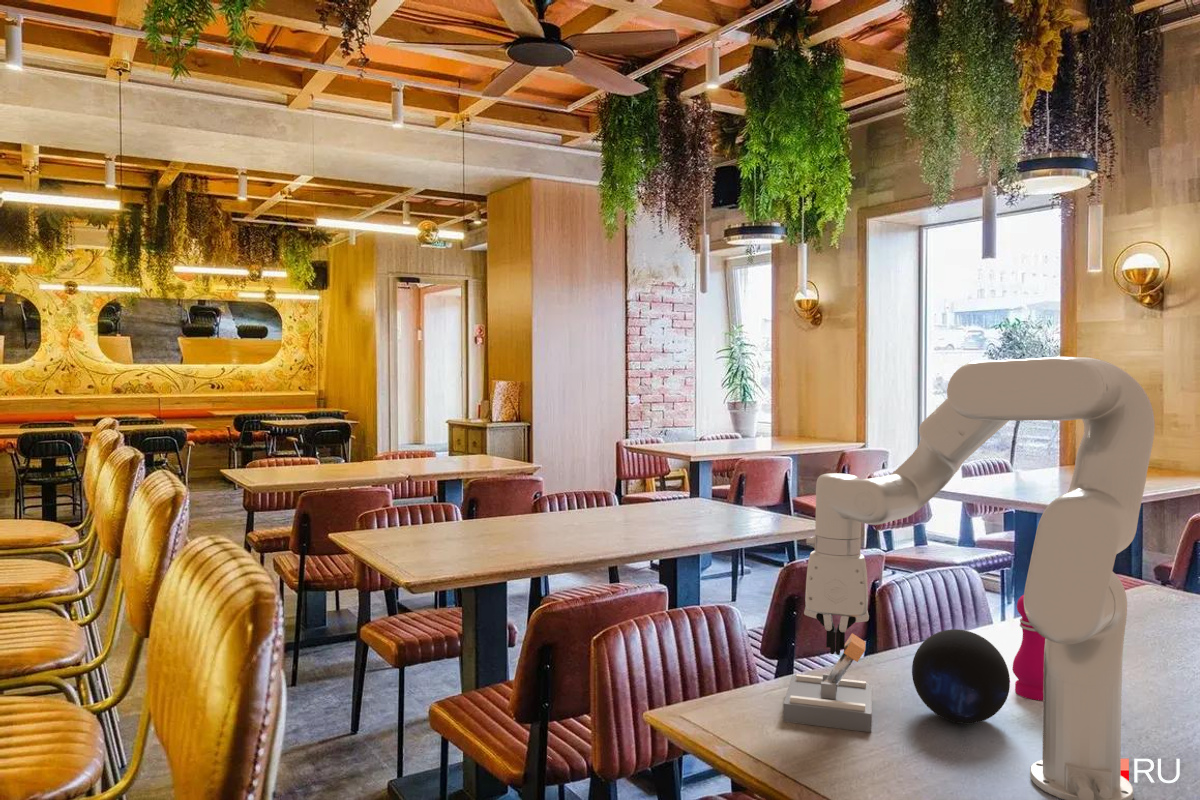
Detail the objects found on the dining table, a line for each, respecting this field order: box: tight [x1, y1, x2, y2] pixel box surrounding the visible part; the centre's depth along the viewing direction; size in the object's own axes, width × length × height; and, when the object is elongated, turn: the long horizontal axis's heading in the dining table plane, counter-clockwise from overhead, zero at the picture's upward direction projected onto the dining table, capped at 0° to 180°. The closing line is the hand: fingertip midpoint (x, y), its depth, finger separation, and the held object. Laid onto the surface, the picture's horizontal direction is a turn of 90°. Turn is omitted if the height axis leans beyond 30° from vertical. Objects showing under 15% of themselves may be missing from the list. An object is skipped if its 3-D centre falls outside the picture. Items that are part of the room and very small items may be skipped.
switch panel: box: [782, 672, 873, 733], centre depth 146 cm, size 14×14×6 cm
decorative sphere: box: [911, 628, 1011, 725], centre depth 142 cm, size 15×15×15 cm
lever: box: [824, 632, 866, 685], centre depth 145 cm, size 5×3×10 cm
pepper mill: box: [1012, 594, 1045, 702], centre depth 153 cm, size 7×7×20 cm
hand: (835, 652), depth 145 cm, fingers closed
